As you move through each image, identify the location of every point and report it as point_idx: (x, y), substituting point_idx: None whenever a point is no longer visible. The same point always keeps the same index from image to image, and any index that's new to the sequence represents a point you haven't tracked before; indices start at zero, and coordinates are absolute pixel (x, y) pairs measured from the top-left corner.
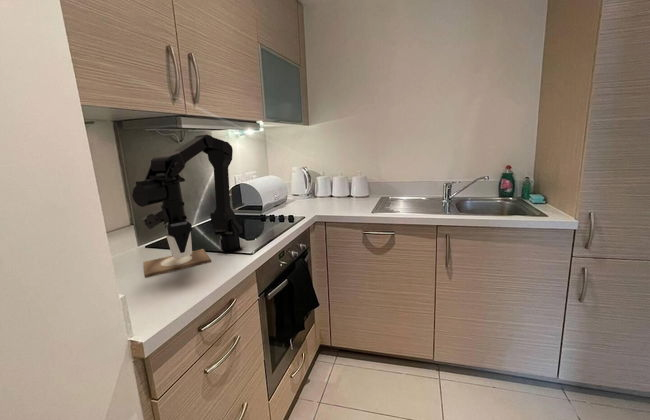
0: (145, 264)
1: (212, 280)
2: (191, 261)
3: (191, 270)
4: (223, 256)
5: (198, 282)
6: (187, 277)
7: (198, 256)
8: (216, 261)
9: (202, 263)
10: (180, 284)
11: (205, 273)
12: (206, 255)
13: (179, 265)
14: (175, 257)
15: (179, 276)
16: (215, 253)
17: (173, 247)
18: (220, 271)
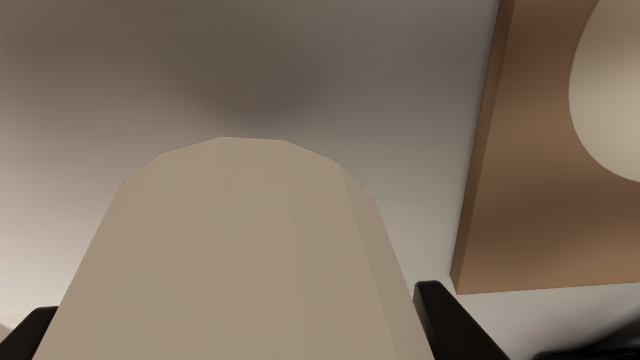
0: None
1: (4, 249)
2: (548, 171)
3: (366, 137)
4: (494, 341)
5: (3, 163)
6: (192, 93)
7: (629, 228)
8: None
9: (460, 226)
10: (20, 20)
11: None
12: (584, 278)
13: (538, 63)
14: (135, 176)
15: (274, 26)
16: (622, 310)
17: (53, 326)
18: None
